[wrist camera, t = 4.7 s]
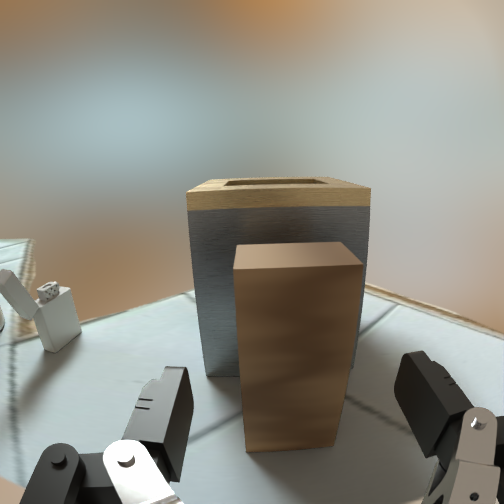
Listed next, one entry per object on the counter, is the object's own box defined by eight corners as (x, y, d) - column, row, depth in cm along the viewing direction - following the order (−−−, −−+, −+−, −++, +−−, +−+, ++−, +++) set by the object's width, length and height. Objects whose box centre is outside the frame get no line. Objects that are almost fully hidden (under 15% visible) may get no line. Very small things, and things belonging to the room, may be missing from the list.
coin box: (206, 376, 19) (186, 192, 16) (219, 309, 29) (210, 179, 26) (353, 368, 19) (370, 188, 16) (324, 304, 29) (327, 177, 25)
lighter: (70, 327, 25) (50, 246, 23) (82, 330, 25) (62, 246, 22) (22, 366, 18) (-11, 274, 16) (33, 371, 18) (0, 276, 16)
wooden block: (246, 452, 13) (233, 269, 10) (246, 412, 16) (236, 245, 13) (333, 445, 13) (363, 264, 10) (323, 408, 16) (340, 241, 13)
